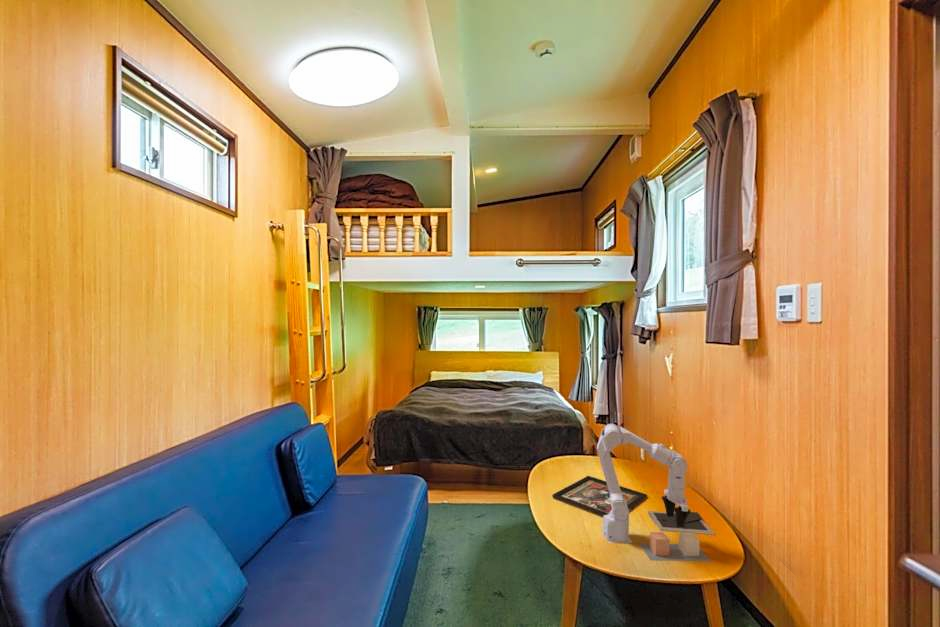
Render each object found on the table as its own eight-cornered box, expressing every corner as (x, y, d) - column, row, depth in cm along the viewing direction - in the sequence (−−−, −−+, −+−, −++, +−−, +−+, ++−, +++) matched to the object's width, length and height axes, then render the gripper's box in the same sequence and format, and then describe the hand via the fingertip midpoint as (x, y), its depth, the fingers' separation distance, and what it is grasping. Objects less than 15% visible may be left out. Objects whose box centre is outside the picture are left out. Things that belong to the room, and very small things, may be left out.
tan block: (685, 556, 156) (686, 539, 156) (678, 548, 161) (679, 532, 161) (699, 556, 156) (699, 540, 156) (691, 548, 161) (692, 532, 161)
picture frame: (697, 518, 187) (648, 515, 190) (697, 512, 187) (648, 508, 190) (713, 538, 172) (659, 533, 174) (713, 531, 172) (660, 527, 174)
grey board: (650, 562, 153) (650, 560, 153) (638, 544, 164) (638, 543, 164) (711, 563, 153) (712, 561, 153) (695, 545, 164) (695, 544, 164)
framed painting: (624, 526, 179) (625, 519, 179) (548, 502, 200) (548, 496, 200) (649, 496, 209) (649, 490, 209) (580, 478, 230) (581, 473, 230)
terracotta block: (655, 555, 156) (655, 539, 156) (649, 547, 161) (650, 532, 161) (669, 555, 156) (669, 539, 156) (662, 548, 161) (663, 532, 161)
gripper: (697, 494, 156) (695, 531, 156) (677, 478, 171) (675, 512, 171) (678, 494, 156) (676, 531, 156) (659, 478, 171) (658, 512, 171)
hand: (674, 521), depth 164 cm, fingers open, 7 cm apart
